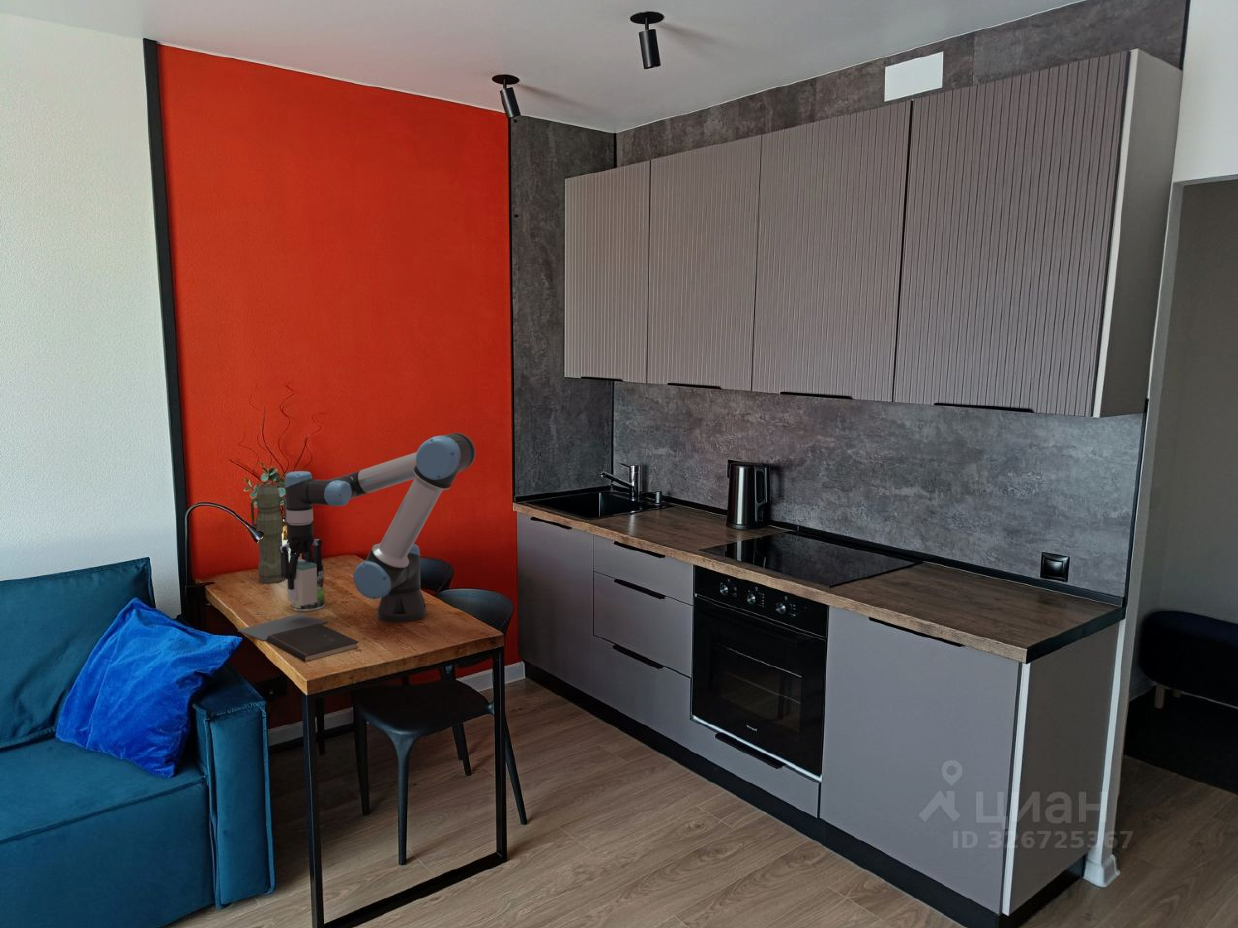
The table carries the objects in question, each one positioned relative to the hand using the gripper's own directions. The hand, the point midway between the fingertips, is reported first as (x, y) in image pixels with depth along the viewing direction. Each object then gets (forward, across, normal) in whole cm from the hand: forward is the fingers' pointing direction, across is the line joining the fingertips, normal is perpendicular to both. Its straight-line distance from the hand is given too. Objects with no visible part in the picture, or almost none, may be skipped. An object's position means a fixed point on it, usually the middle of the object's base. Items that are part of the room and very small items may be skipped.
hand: (302, 597), depth 260 cm
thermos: (+8, -20, -51) cm, 55 cm away
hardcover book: (+9, +10, +19) cm, 23 cm away
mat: (+8, +6, -1) cm, 10 cm away
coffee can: (+8, -10, -13) cm, 18 cm away
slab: (+1, 0, 0) cm, 1 cm away
